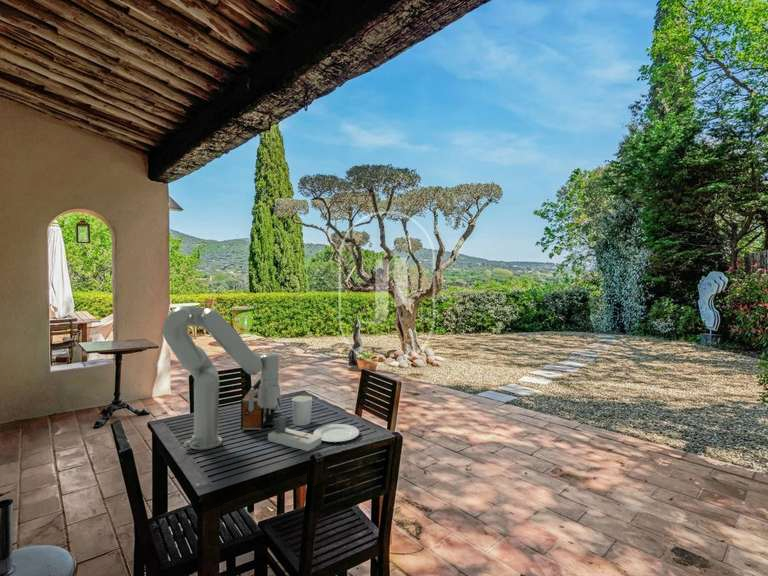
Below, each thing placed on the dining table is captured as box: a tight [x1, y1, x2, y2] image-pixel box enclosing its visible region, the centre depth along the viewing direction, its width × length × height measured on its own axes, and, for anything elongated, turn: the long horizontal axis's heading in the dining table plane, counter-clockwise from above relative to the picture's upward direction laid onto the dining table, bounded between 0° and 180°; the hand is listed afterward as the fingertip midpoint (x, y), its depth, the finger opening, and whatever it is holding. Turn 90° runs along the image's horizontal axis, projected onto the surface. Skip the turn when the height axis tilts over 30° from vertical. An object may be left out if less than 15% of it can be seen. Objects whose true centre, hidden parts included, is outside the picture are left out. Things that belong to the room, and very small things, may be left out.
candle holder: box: [291, 395, 313, 427], centre depth 198 cm, size 10×10×12 cm
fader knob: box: [273, 415, 288, 433], centre depth 178 cm, size 5×3×6 cm, turn 153°
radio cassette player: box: [240, 378, 267, 431], centre depth 199 cm, size 29×10×20 cm, turn 4°
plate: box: [313, 423, 360, 444], centre depth 182 cm, size 21×21×2 cm
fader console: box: [267, 427, 323, 452], centre depth 175 cm, size 9×22×3 cm, turn 63°
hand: (269, 422), depth 181 cm, fingers closed
